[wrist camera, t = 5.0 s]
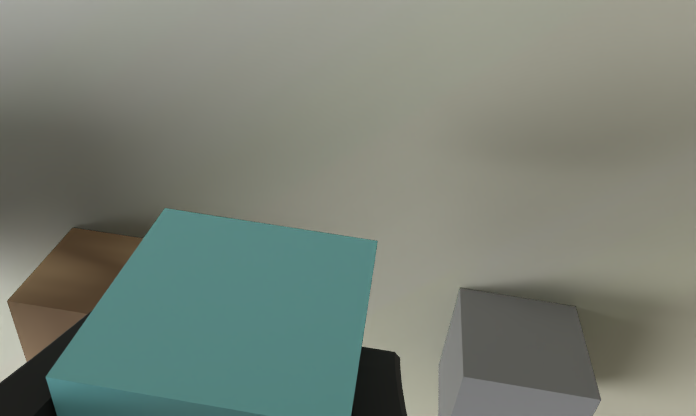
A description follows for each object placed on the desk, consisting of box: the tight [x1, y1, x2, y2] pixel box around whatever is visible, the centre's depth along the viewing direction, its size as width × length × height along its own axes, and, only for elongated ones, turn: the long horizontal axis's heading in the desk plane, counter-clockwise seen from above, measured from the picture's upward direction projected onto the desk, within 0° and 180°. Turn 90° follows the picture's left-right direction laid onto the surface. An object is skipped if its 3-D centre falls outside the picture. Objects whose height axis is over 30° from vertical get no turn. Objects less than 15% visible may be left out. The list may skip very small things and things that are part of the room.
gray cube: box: [438, 288, 601, 416], centre depth 20 cm, size 4×4×4 cm
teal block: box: [46, 208, 378, 416], centre depth 10 cm, size 4×4×4 cm
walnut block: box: [7, 228, 143, 362], centre depth 21 cm, size 4×4×4 cm
